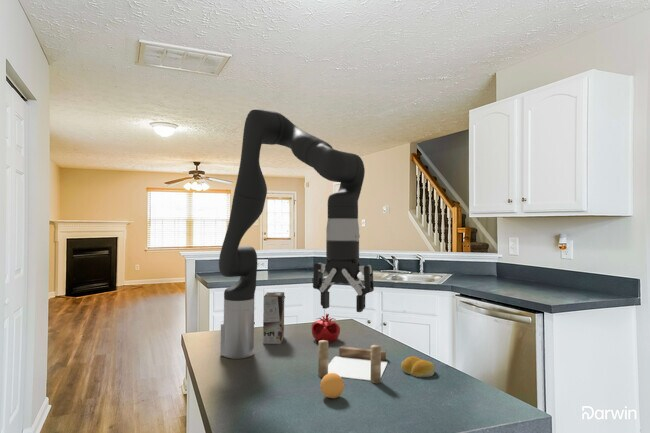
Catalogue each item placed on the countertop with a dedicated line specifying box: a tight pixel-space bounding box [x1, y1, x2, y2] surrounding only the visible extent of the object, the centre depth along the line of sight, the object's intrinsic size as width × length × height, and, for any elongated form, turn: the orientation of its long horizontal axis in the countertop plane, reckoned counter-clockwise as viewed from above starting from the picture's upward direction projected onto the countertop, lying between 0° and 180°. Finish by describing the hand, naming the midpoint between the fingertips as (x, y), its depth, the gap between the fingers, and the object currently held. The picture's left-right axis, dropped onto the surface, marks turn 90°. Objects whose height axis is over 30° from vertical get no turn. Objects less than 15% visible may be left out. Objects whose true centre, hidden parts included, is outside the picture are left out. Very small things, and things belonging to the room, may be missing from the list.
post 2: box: [370, 344, 382, 384], centre depth 108 cm, size 3×3×9 cm
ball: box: [320, 373, 345, 399], centre depth 98 cm, size 6×6×6 cm
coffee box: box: [262, 291, 285, 345], centre depth 145 cm, size 9×6×16 cm
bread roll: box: [400, 355, 436, 378], centre depth 115 cm, size 8×9×4 cm
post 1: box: [317, 340, 329, 378], centre depth 112 cm, size 3×3×9 cm
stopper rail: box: [338, 345, 387, 362], centre depth 127 cm, size 14×2×2 cm, turn 74°
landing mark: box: [328, 355, 388, 382], centre depth 117 cm, size 16×16×1 cm
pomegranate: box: [310, 313, 341, 343], centre depth 146 cm, size 10×10×9 cm
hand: (342, 309), depth 95 cm, fingers open, 8 cm apart
